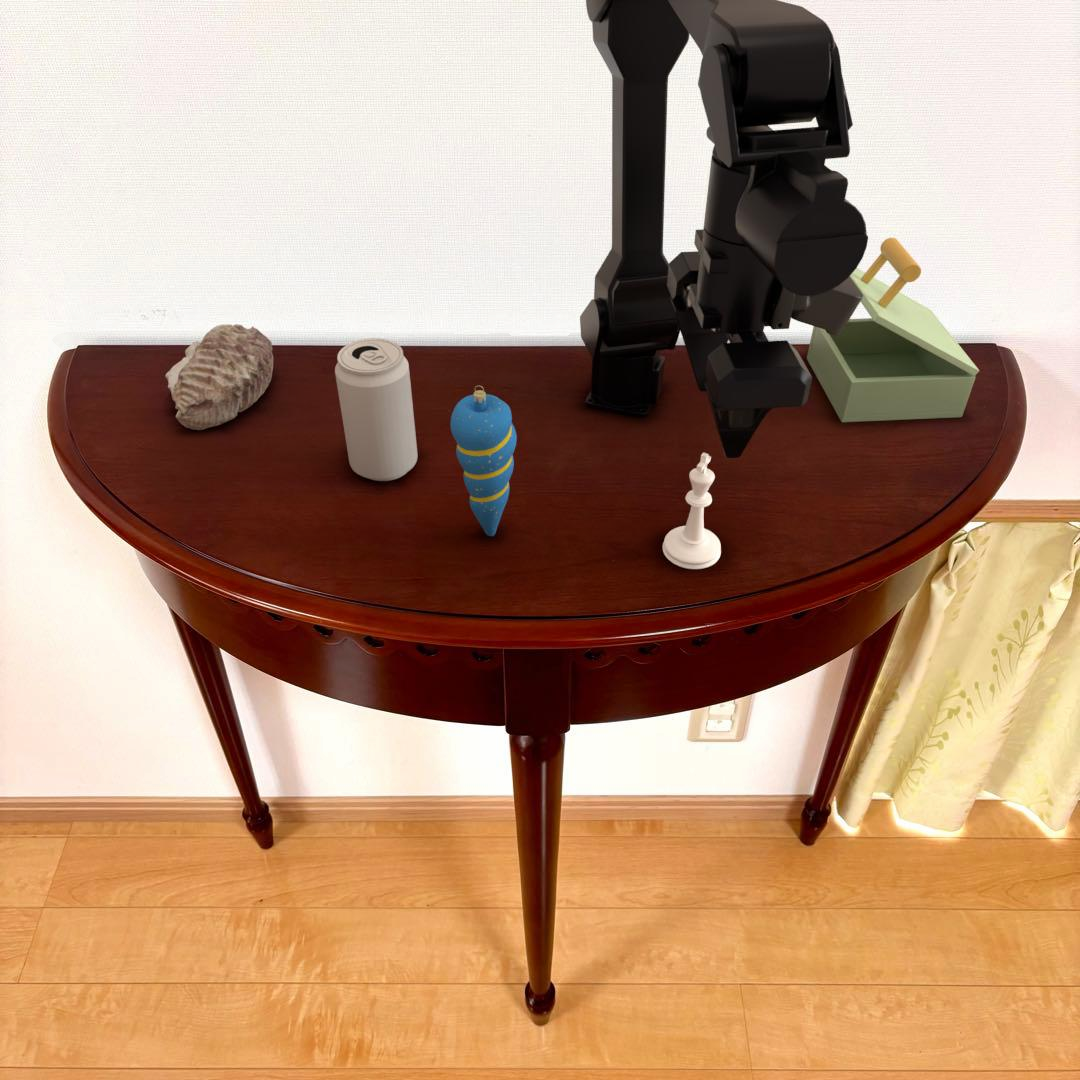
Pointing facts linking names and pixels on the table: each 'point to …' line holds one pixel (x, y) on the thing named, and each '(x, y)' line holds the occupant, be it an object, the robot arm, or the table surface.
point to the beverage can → (377, 408)
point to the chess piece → (695, 525)
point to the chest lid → (906, 307)
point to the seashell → (220, 376)
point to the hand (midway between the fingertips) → (718, 422)
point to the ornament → (485, 454)
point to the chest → (885, 375)
